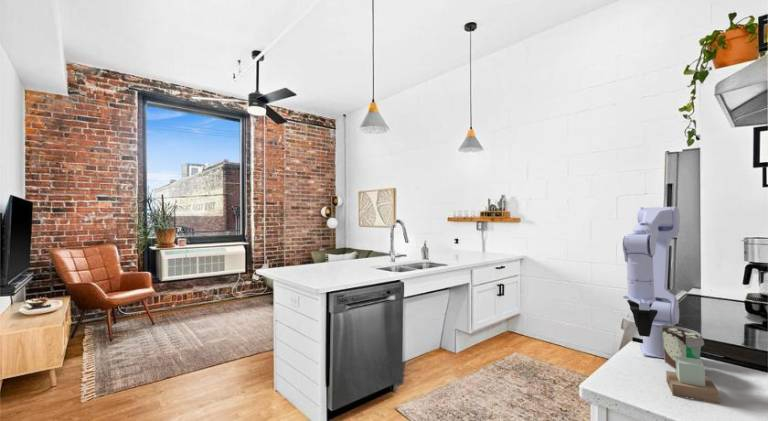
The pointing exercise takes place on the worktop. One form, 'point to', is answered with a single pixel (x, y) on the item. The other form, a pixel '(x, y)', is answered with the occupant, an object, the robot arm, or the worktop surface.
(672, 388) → the walnut block
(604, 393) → the worktop surface
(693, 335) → the food container
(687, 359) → the sage cube
